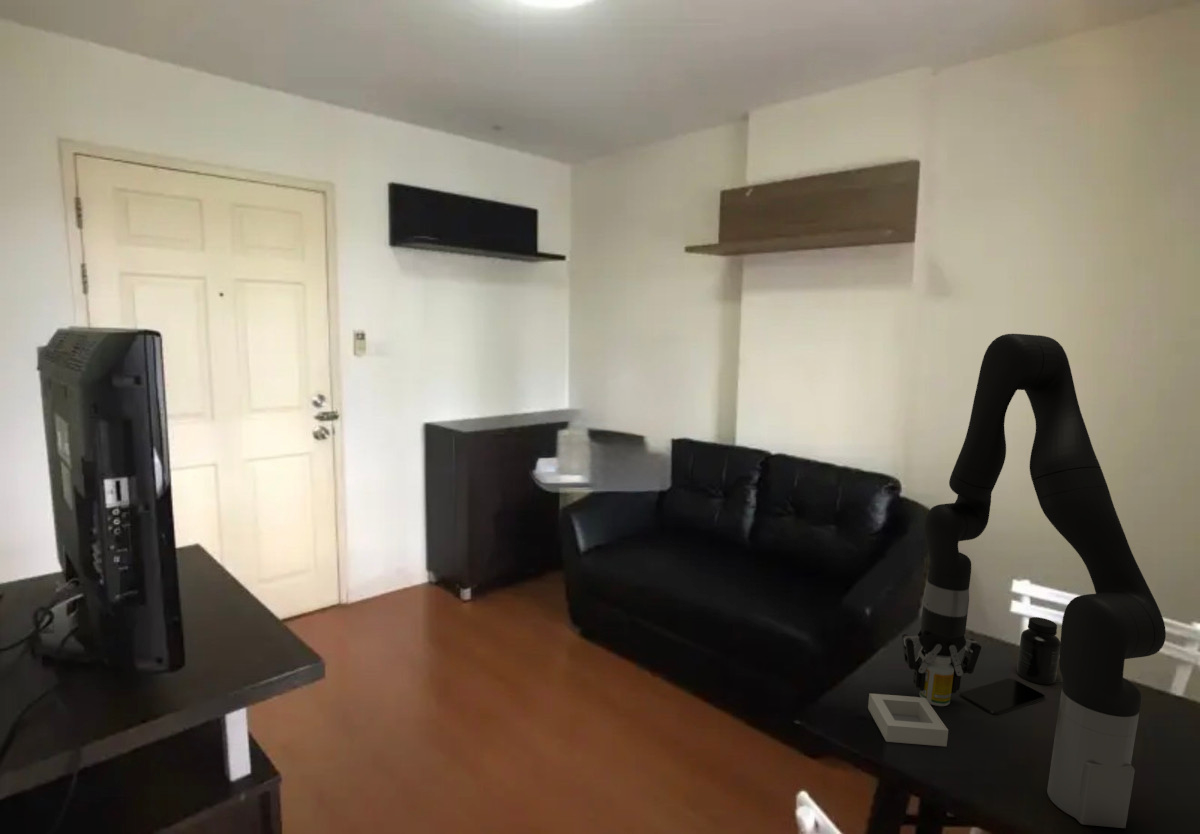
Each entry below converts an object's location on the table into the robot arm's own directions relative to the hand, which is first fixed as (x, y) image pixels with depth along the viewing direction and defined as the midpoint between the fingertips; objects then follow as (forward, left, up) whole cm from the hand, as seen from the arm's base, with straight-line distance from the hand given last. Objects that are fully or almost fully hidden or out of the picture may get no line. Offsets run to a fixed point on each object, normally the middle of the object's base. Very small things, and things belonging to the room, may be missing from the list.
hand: (935, 689), depth 128 cm
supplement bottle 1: (0, 0, -2) cm, 2 cm away
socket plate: (-10, +9, -2) cm, 14 cm away
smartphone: (+3, -14, -3) cm, 14 cm away
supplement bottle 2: (+12, -25, -2) cm, 28 cm away
